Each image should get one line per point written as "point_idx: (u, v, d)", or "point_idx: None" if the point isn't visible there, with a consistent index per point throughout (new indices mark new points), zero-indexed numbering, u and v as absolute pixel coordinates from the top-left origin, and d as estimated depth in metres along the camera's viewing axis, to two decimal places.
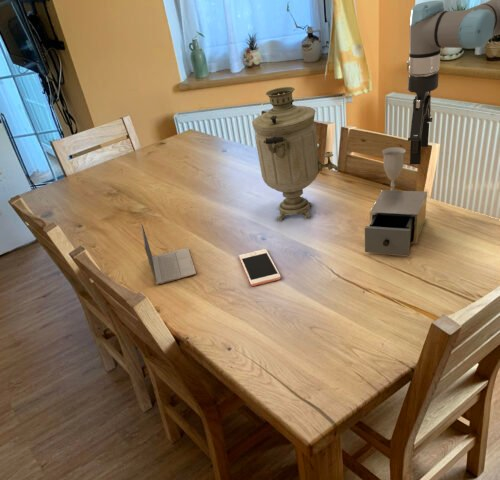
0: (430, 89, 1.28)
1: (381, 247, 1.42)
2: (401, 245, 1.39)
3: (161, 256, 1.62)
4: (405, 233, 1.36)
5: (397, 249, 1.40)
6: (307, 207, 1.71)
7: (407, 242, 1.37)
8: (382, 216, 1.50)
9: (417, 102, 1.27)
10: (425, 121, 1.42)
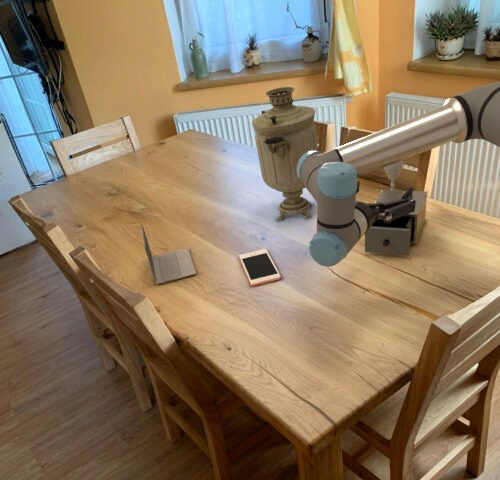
0: (370, 209, 1.10)
1: (381, 247, 1.42)
2: (401, 245, 1.39)
3: (161, 256, 1.62)
4: (405, 233, 1.36)
5: (397, 249, 1.40)
6: (307, 207, 1.71)
7: (407, 242, 1.37)
8: None
9: (389, 218, 1.11)
10: None
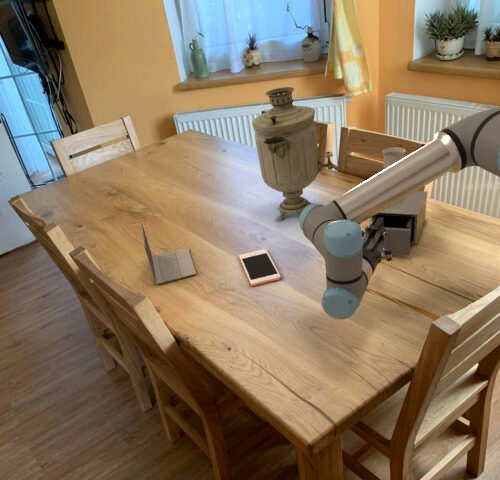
0: (373, 254, 1.13)
1: (381, 247, 1.42)
2: (401, 245, 1.39)
3: (161, 256, 1.62)
4: (405, 233, 1.36)
5: (397, 249, 1.40)
6: None
7: (407, 242, 1.37)
8: (382, 216, 1.50)
9: (391, 255, 1.16)
10: (371, 234, 1.24)
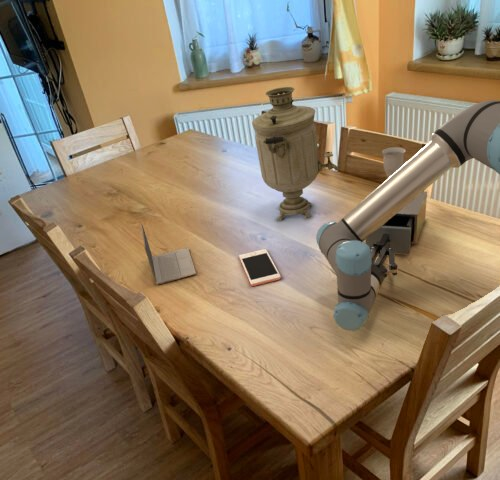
0: (379, 269, 1.22)
1: None
2: (402, 244, 1.39)
3: (161, 256, 1.62)
4: (406, 232, 1.37)
5: (398, 248, 1.41)
6: (307, 207, 1.71)
7: (408, 241, 1.38)
8: None
9: None
10: (377, 250, 1.34)
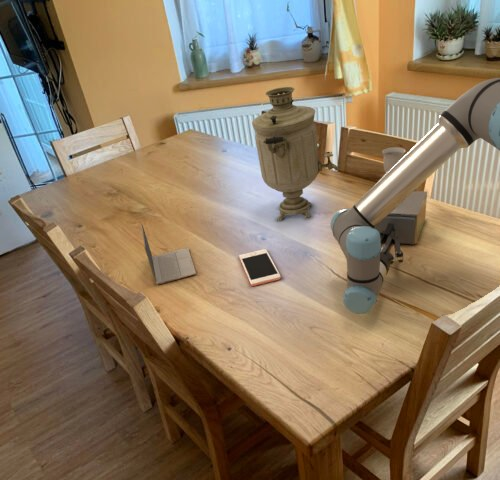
0: (386, 256, 1.26)
1: None
2: (406, 233, 1.43)
3: (161, 256, 1.62)
4: (410, 221, 1.41)
5: (402, 238, 1.45)
6: (307, 207, 1.71)
7: (412, 230, 1.42)
8: None
9: (402, 257, 1.30)
10: (383, 238, 1.38)
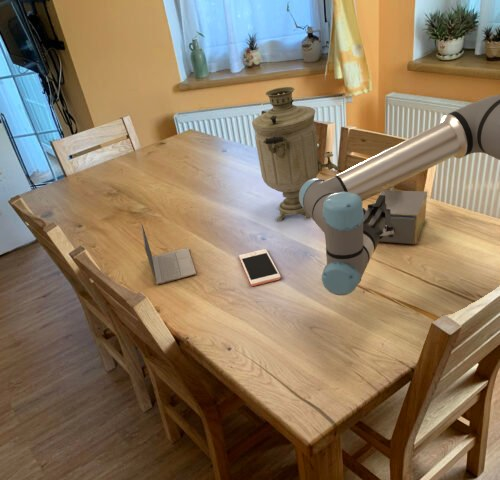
0: (374, 230, 1.10)
1: None
2: (406, 233, 1.43)
3: (161, 256, 1.62)
4: (410, 221, 1.41)
5: (402, 238, 1.45)
6: None
7: (412, 230, 1.42)
8: None
9: (393, 231, 1.13)
10: (372, 212, 1.21)
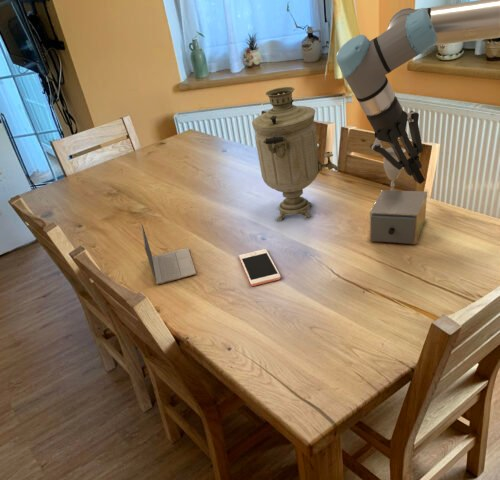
0: (380, 128, 1.14)
1: (387, 235, 1.46)
2: (406, 233, 1.43)
3: (161, 256, 1.62)
4: (410, 221, 1.41)
5: (402, 238, 1.45)
6: (307, 207, 1.71)
7: (412, 230, 1.42)
8: None
9: (372, 149, 1.20)
10: (411, 157, 1.23)
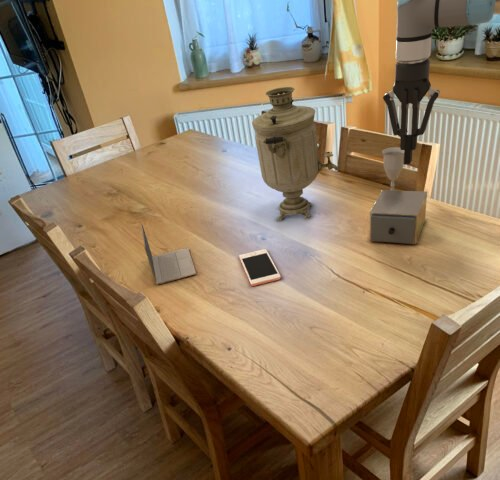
0: (397, 79, 1.14)
1: (387, 235, 1.46)
2: (406, 233, 1.43)
3: (161, 256, 1.62)
4: (410, 221, 1.41)
5: (402, 238, 1.45)
6: (307, 207, 1.71)
7: (412, 230, 1.42)
8: None
9: None
10: None
